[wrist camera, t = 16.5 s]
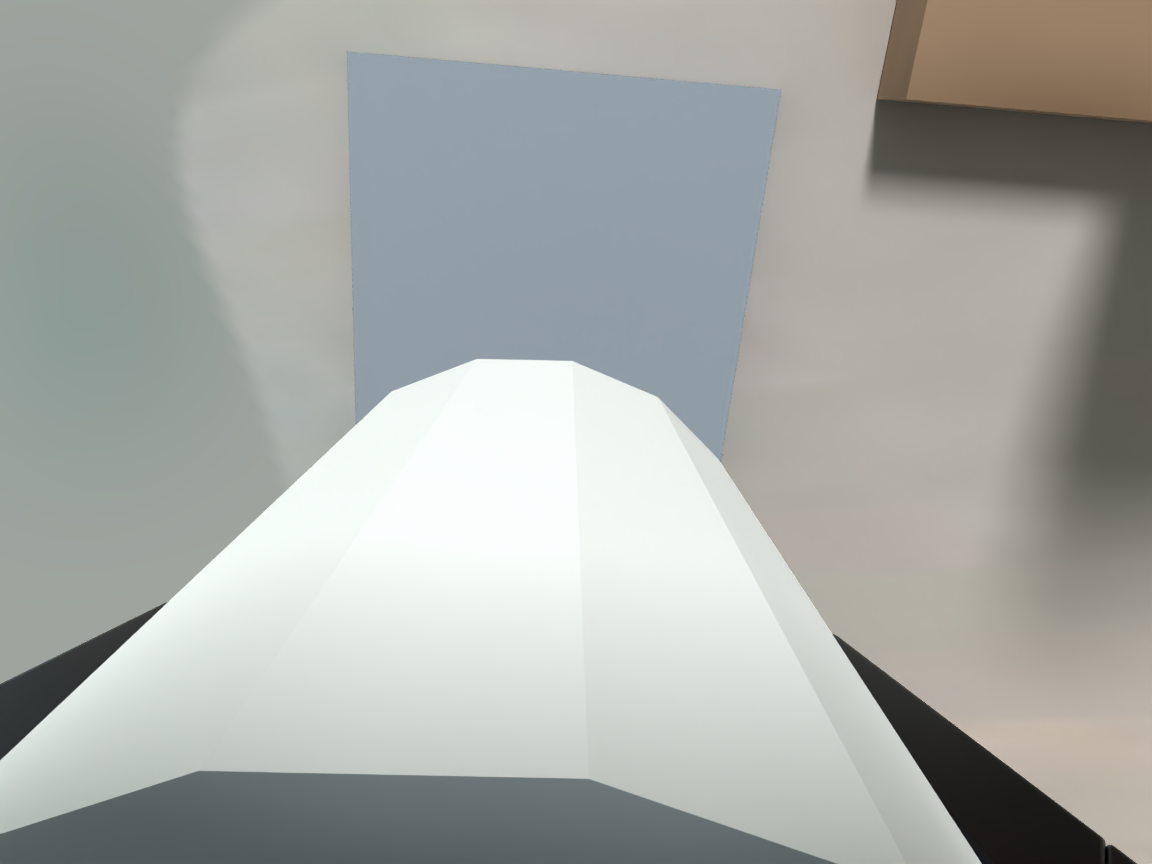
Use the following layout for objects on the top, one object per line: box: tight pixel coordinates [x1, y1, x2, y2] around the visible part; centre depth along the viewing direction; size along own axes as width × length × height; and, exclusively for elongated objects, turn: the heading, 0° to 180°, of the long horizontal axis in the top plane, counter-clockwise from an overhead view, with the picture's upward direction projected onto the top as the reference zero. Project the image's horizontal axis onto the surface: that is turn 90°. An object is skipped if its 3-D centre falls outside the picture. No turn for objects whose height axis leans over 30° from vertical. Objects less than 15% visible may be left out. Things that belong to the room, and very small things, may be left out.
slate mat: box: [347, 52, 781, 462], centre depth 17 cm, size 12×8×1 cm, turn 175°
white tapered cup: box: [0, 359, 982, 864], centre depth 7 cm, size 7×7×7 cm
